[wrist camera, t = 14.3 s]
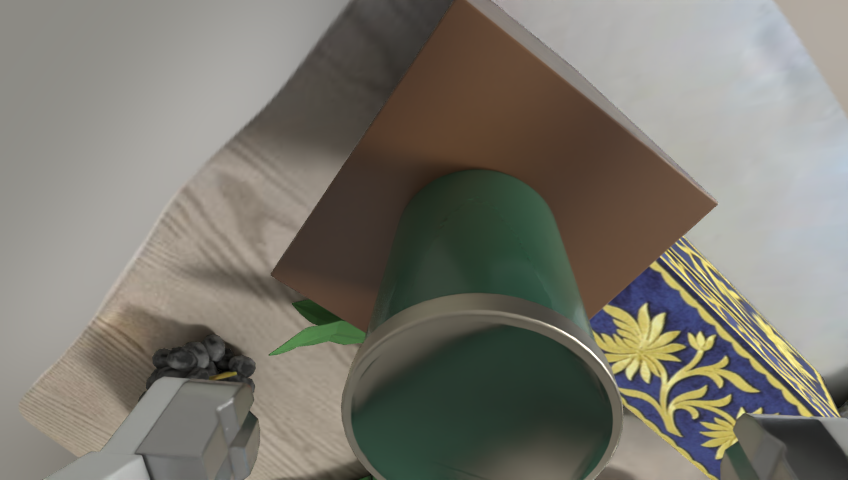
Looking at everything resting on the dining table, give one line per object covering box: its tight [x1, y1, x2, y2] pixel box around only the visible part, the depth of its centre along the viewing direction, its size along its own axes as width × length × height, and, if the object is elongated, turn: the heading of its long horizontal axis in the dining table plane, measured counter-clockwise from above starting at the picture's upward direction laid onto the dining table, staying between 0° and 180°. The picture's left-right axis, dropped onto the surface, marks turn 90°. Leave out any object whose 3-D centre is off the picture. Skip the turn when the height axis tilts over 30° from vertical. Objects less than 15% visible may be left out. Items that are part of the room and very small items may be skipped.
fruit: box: [138, 335, 256, 402], centre depth 45 cm, size 9×8×15 cm
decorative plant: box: [269, 299, 366, 356], centre depth 44 cm, size 6×8×30 cm
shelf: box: [271, 0, 718, 333], centre depth 25 cm, size 9×10×22 cm
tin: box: [341, 169, 623, 480], centre depth 12 cm, size 5×5×7 cm
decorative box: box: [589, 236, 842, 480], centre depth 37 cm, size 11×30×9 cm, turn 48°
